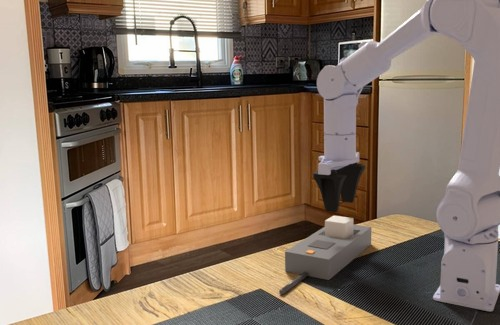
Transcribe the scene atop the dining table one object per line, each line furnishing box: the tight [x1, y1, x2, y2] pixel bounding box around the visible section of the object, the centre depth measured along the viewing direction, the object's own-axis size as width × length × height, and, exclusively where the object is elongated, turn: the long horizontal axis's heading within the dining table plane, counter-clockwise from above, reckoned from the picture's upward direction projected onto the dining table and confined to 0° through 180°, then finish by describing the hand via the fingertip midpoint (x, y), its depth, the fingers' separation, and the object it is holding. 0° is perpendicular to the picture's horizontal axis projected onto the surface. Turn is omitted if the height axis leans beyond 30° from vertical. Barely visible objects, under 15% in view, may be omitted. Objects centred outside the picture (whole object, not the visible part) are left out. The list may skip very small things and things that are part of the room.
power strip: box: [278, 223, 372, 295], centre depth 89 cm, size 29×8×4 cm, turn 147°
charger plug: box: [324, 215, 354, 239], centre depth 96 cm, size 4×4×5 cm
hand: (340, 206), depth 95 cm, fingers open, 7 cm apart
